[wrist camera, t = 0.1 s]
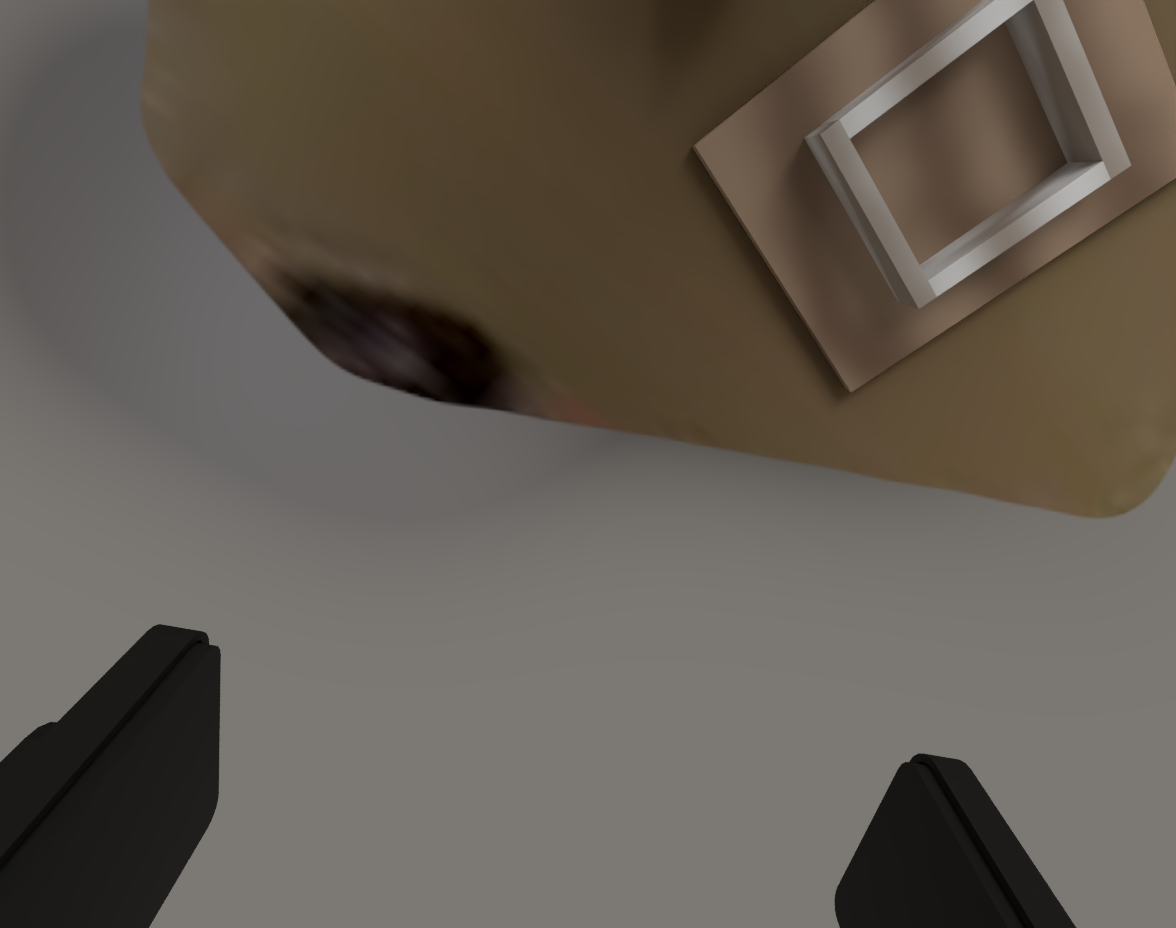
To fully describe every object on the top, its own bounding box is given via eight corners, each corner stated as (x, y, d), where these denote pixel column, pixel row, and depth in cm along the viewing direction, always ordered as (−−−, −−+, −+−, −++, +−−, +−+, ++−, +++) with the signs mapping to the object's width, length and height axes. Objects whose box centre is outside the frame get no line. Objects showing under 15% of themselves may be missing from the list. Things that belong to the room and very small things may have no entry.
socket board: (1066, -155, 30) (1124, -196, 27) (1186, 160, 35) (1248, 157, 32) (691, 146, 35) (702, 142, 31) (844, 387, 39) (868, 405, 36)
